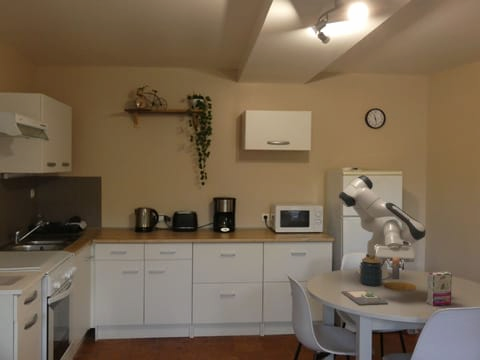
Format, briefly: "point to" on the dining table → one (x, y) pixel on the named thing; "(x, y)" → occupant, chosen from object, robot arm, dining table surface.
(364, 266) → the canister
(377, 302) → the board
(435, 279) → the candy bar box
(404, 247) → the robot arm
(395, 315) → the dining table surface
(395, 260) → the marker
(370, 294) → the button
